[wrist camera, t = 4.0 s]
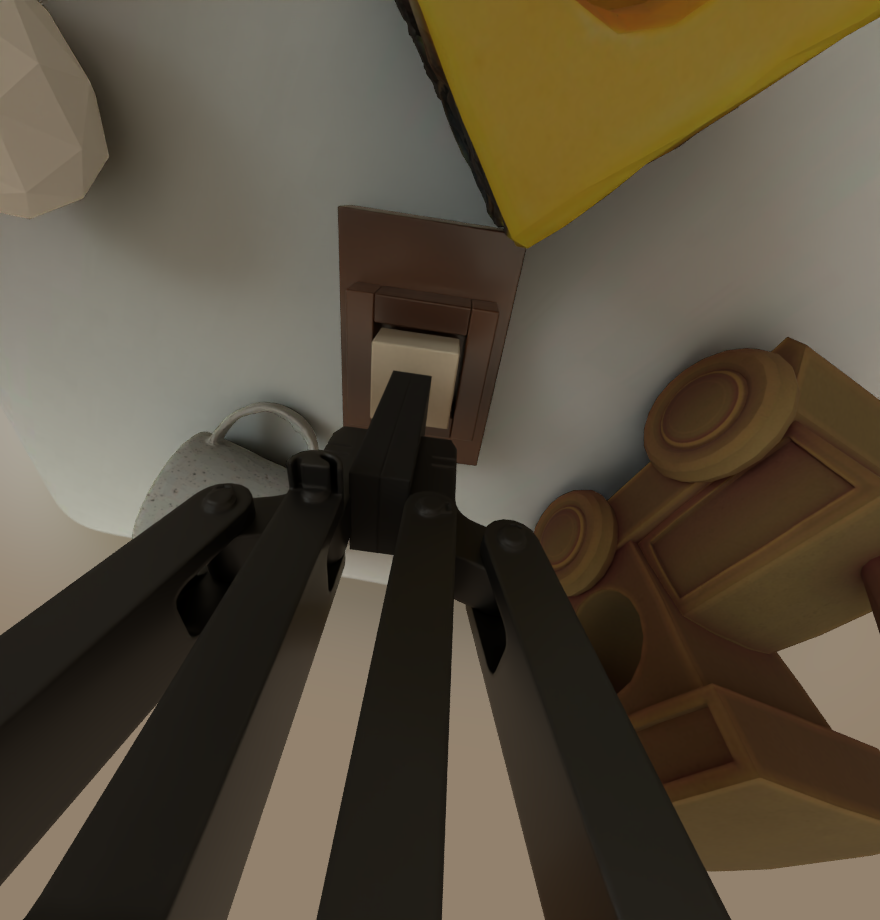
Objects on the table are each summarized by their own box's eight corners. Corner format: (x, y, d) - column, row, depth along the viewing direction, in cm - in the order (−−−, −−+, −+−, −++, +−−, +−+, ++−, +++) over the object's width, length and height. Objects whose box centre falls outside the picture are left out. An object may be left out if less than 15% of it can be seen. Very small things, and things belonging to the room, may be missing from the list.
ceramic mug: (304, 530, 30) (262, 619, 23) (198, 489, 28) (120, 573, 21) (352, 429, 24) (314, 508, 18) (224, 369, 22) (129, 434, 16)
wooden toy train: (614, 590, 32) (725, 885, 18) (501, 541, 29) (532, 842, 15) (869, 407, 21) (1592, 782, 8) (728, 302, 19) (1449, 592, 5)
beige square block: (380, 326, 17) (371, 340, 15) (460, 338, 17) (460, 353, 15) (378, 399, 19) (369, 419, 17) (449, 409, 19) (447, 429, 17)
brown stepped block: (350, 204, 17) (323, 206, 14) (522, 231, 17) (536, 239, 14) (352, 429, 24) (334, 465, 21) (475, 446, 24) (477, 485, 21)
